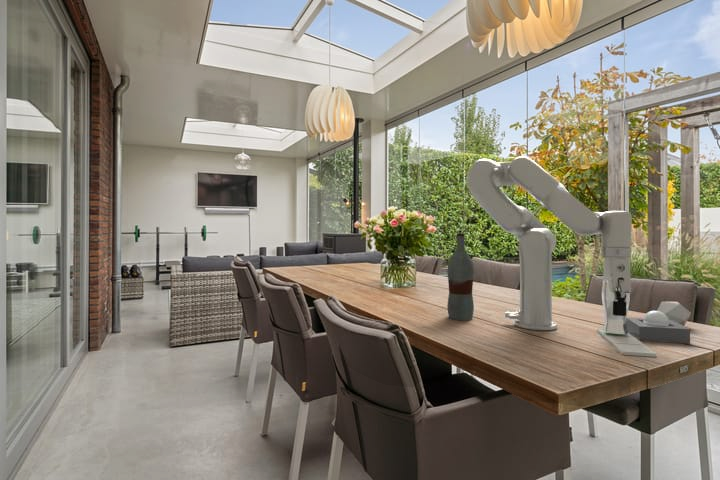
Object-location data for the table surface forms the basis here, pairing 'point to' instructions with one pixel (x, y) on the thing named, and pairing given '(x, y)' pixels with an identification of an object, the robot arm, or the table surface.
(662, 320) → the dome
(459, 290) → the bottle
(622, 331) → the beer glass
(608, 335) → the coaster
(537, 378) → the table surface
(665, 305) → the die
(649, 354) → the coaster
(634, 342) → the coaster
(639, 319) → the box
